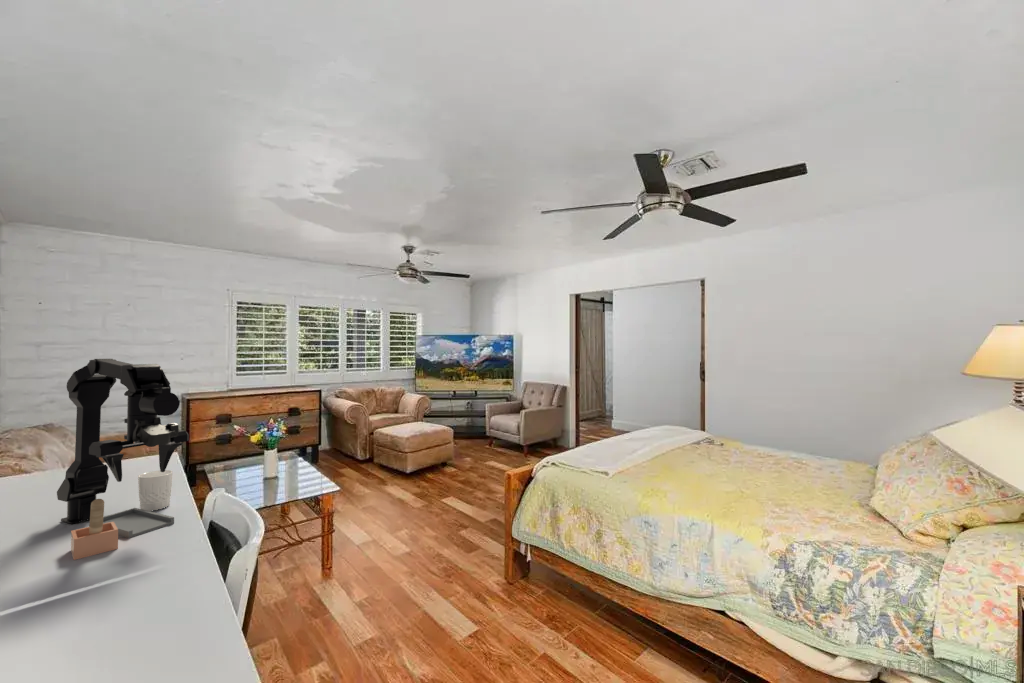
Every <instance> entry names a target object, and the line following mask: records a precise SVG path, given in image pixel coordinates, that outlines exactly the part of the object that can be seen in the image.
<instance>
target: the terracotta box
mask: <svg viewBox="0 0 1024 683" xmlns="http://www.w3.org/2000/svg"><path fill="white" fill-rule="evenodd" d="M70 532H71V533H70V535H71V536H70V552H71V556H72V559H73V561H75V560H76V561H77V560H80V559H84V558H88V557H91V556H95V555H99V554H103V553H107V552H111V551H115V550H118V549H119V536H118V528H117V526H116V525H115V523H114V521H113V522H109V523H104V524H103V529H102V532H101V533H97V534H92V535H89V526H87V527H82V528H77V529H73V530H70Z"/></svg>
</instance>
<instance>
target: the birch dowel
mask: <svg viewBox="0 0 1024 683" xmlns="http://www.w3.org/2000/svg"><path fill="white" fill-rule="evenodd" d="M104 510H105V500H104V499H102V498H96V500H94V501H93V502H92V503H91V510H90V519H89V521H90V526H89V525H88V527H89V535H92V534H97V533H101V532H102V529H103V517H104V516H105V515H104V514H105V511H104Z"/></svg>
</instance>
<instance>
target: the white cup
mask: <svg viewBox="0 0 1024 683" xmlns="http://www.w3.org/2000/svg"><path fill="white" fill-rule="evenodd" d="M137 476H138V478H137V479H138V498H139V500H138V501H139V503H140V504H139V506H140V508H139V509H142V510H146V511H150V512H153V511H152V510H156V511H159V510H158V509H161V510H163V509H162V508H164V507H166V508H168V507H170V505H171V495H172V488H173V487H172V486H173V470H172V469H171V470H170V469H165V472H161V471H160V470H154V471H153V470H152V471H149V472H144V473H141V474H139V475H137ZM167 506H168V507H167ZM164 509H165V508H164Z"/></svg>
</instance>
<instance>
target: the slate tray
mask: <svg viewBox="0 0 1024 683" xmlns="http://www.w3.org/2000/svg"><path fill="white" fill-rule="evenodd" d="M113 521H114V523H115V525H116V526H117V528H118V537H122V538H124V539H125V538H126V539H131V538H135V537H137V536H140V535H143V534H146V533H149V532H153V531H155V530H158V529H162V528H164V527H167V526H171V525H174V524H175V517H174V516H171V515H167V514H162V513H159V512H158V513H157V512H156V511H155V512H154V511H146V510H142V509H140V508H138V507H133V508H130V509H126V510H122V511H119V512H116V513H112V514H108V515H104V516H103V524H104V523H109V522H113ZM89 526H90V520H89V521H88V527H89Z"/></svg>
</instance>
